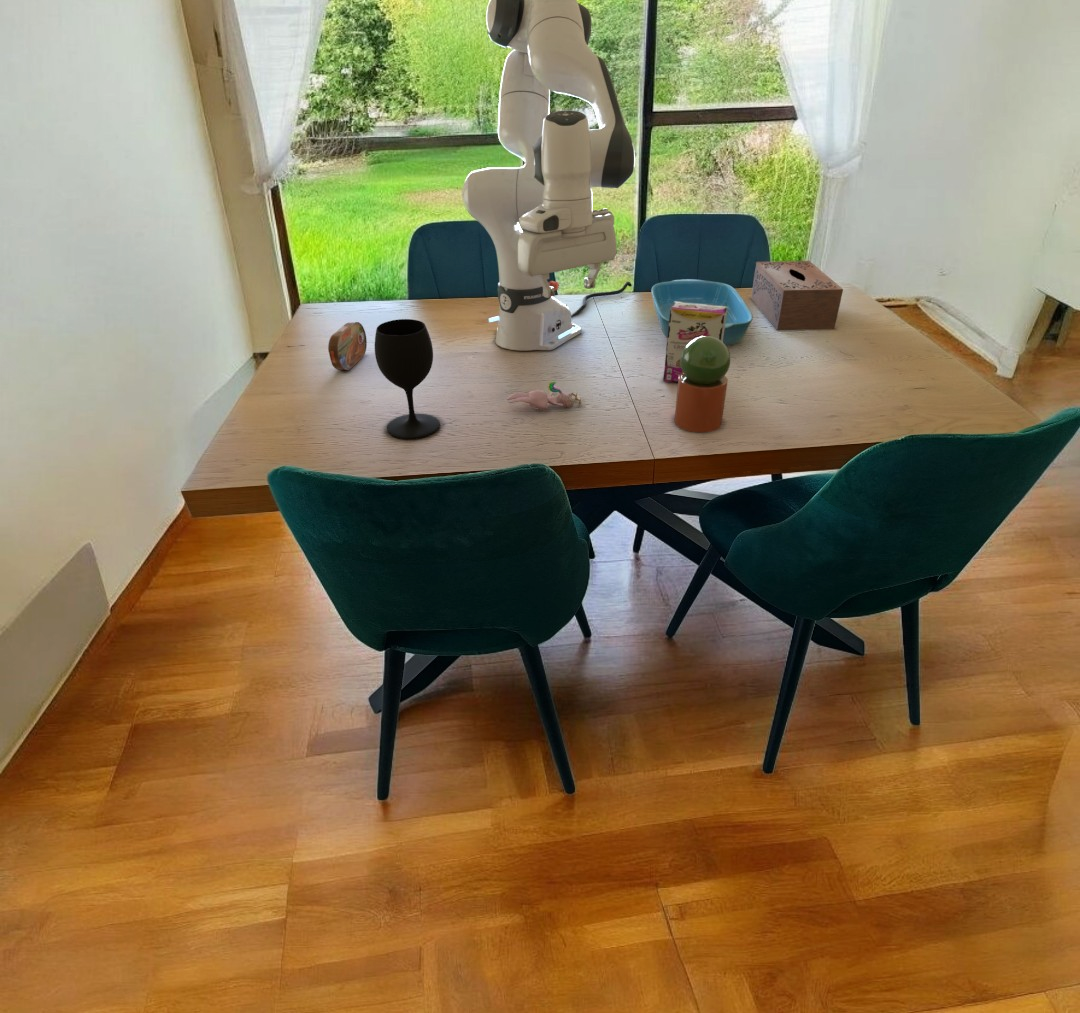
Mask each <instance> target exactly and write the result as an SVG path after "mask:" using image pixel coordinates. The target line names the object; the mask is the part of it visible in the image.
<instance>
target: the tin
mask: <svg viewBox="0 0 1080 1013" xmlns="http://www.w3.org/2000/svg"><path fill="white" fill-rule="evenodd" d="M367 343H368V342H367V334H366V330H365V327H364V326H363V324H362V323H360V322H359V321H353V322H346V323H345V324H344V325H342V326H341V327H340V328H339V329H337V330H336V331H335V332H334V333H333V334H332V335H331V336H330V338H329V340H328V345H327V350H328V354H329V359H330V362H331V365H332V367H333V368H334V369H335V370H338V371H350V370H351V369H352V368H353V367H355V365H356V364H358V362H360V361H361V360H362V358H363V357H364V356H365V355H366V352H367Z"/></svg>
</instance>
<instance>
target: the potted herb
mask: <svg viewBox="0 0 1080 1013" xmlns="http://www.w3.org/2000/svg"><path fill="white" fill-rule="evenodd" d="M680 365H681V369H682V372H683V373H681V374H680V375H679V379H678V383H677V390H676V391H677V392H676V401H675V410H674V424H675V425H676V426H677V427H679V428H681V430H685V431H688V432H691V433H711V432H715V431H717V430H719V429H720V427H722V425H723V417H724V411H725V403H726V396H727V389H728V382H729V381H728V380H729V378H727V376H726V375H727V373H728V371H729V369H730V366H731V353H730V351H729V348H728V346H726V345H725V344H724V343H723V342H722V341H721V340H719V339H718V338H715V337H712V336H701V337H697V338H695V339H693V340H692V341H690V342H689V343H688V344H687V345H686V346H685V348H684V350H683V352H682V354H681V359H680Z"/></svg>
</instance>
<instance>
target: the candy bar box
mask: <svg viewBox="0 0 1080 1013" xmlns="http://www.w3.org/2000/svg"><path fill="white" fill-rule="evenodd" d="M726 316H727V307H726V306H716V305H706V304H696V303H687V302H677V301H674V304H673V306H671V309H670V318H669V328H668V338H667V337H666V339H667V340H666V349H665V350H666V351H665V360H664V369H663V370H664V371H663V382H665V383H666V382H667V383H672V384H678V379H679V375H680V374H681V373H683V372H682V369H681V365H680V359H681V354H682V352H683V350H684V348H685V346H686V345H687V344H688V343H689V342H690V341H692V340H693V339H695V338H697V337H701V336H712V337H715V338H718V339H719V340H721V341H722V342H723V336H724V329H725V322H726Z"/></svg>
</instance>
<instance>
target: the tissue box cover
mask: <svg viewBox="0 0 1080 1013" xmlns="http://www.w3.org/2000/svg"><path fill="white" fill-rule="evenodd" d="M754 268H755V270H754V275H753V282H752V288H751V296H750V299H751V300H752V301H753V303H754V304H755V305H756V307H757V308H758V309H759V310H760V311H761V312H762V314H763V315H764V316H765V317H766V319H767V320H768V321H769V322H770V323H771V325H772V326H773V327H774V329H775V330H776V331H804V330H805V331H806V330H807V331H808V330H811V331H813V330H814V331H815V330H835V328H836V324H837V319H838V314H839V310H840V305H841V301H842V297H843V292H844V288H842V287H841V286H840V285H838V284H837V283H836V282H835V281H834V280H833V279H832V278H830V277H829V276H828V275H827V274H826V273H824V272H823V271H822V270H821V269H820V268H819V267H817V266H816V265H815V264H814V263H813V262H811V261H810V260H785V261H784V260H783V261H781V260H780V261H775V260H774V261H756V262H755V267H754Z"/></svg>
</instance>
